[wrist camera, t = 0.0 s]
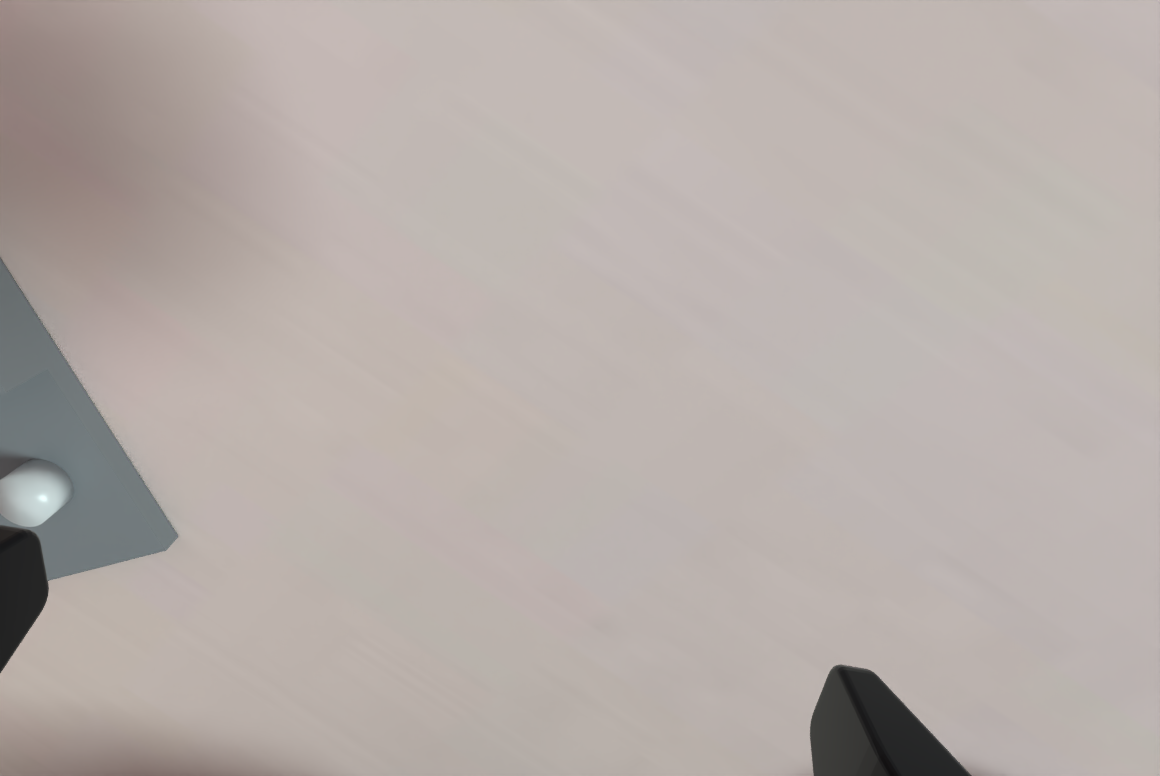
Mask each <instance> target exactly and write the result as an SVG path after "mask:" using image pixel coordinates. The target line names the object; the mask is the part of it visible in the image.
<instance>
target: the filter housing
mask: <svg viewBox="0 0 1160 776" xmlns="http://www.w3.org/2000/svg"><path fill="white" fill-rule="evenodd" d="M0 525H5V526H11V527H17V528H23V529H28V530H31V531H33V532H35V533H36V534H37V536H38V537H39V539H40V542H41V547H42V552H43V558H44V563H45V569H46V574H47V580H48V581H49V580H53V579H57V578H61V577H64V576H68V575H72V574H76V573H80V572H84V571H88V570H92V569H96V568H100V567H103V566H107V565H111V564H115V563H119V562H123V561H127V560H131V559H135V558H139V557H142V556H146V555H150V554H154V553H158V552H162V551H166V550H167V549H168V548H169V547H170V545H171V544H172V543H173V542H174V541H175V540H176V539H177V538H178V535H177V533H176V532H175V530H174V529H173V527H172V525H171V524H170V522H169V521H168V519H167V518H166V516H165V515H164V513H163V511H162V510H161V508H160V507H159V505H158V504H157V502H156V501H155V499H154V497H153V496H152V494H151V493H150V491H149V490H148V488H147V486H146V485H145V483H144V482H143V480H142V479H141V477H140V476H139V474H138V472H137V471H136V469H135V468H134V466H133V465H132V463H131V461H130V460H129V458H128V457H127V455H126V454H125V452H124V451H123V449H122V447H121V446H120V444H119V443H118V441H117V440H116V438H115V436H114V435H113V433H112V432H111V430H110V429H109V427H108V426H107V424H106V422H105V421H104V419H103V418H102V416H101V415H100V413H99V411H98V410H97V408H96V407H95V405H94V404H93V402H92V401H91V399H90V397H89V396H88V394H87V393H86V391H85V390H84V388H83V387H82V385H81V383H80V382H79V380H78V379H77V377H76V376H75V374H74V372H73V371H72V369H71V368H70V366H69V365H68V363H67V362H66V360H65V358H64V357H63V355H62V354H61V352H60V351H59V349H58V347H57V346H56V344H55V343H54V341H53V340H52V338H51V337H50V335H49V333H48V332H47V330H46V329H45V327H44V326H43V324H42V322H41V321H40V319H39V318H38V316H37V315H36V313H35V312H34V310H33V308H32V307H31V305H30V304H29V302H28V301H27V299H26V298H25V296H24V294H23V293H22V291H21V290H20V288H19V287H18V285H17V283H16V282H15V280H14V279H13V277H12V276H11V274H10V273H9V271H8V269H7V268H6V266H5V265H4V263H3V262H2V260H1V258H0Z"/></svg>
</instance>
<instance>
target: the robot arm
mask: <svg viewBox="0 0 1160 776" xmlns="http://www.w3.org/2000/svg"><path fill="white" fill-rule="evenodd" d="M48 590H49V587H48V580H47V574H46V569H45V563H44V558H43V552H42V547H41V542H40V539H39V537H38V536H37V534H36V533H35V532H33V531H31V530H28V529H23V528H17V527H11V526H5V525H0V673H1V671H2V670H3V668H4V667H5V665H6V664H7V662H8V661H9V659H10V658H11V656H12V655H13V653H14V652H15V650H16V649H17V647H18V646H19V644H20V643H21V642H22V640H23V639H24V637H25V636H26V634H27V633H28V631H29V630H30V628H31V627H32V625H33V624H34V622H35V621H36V619H37V618H38V616H39V615H40V613H41V611H42V610H43V608H44V606H45V603H46V601H47V597H48ZM810 741H811V751H812V762H813V773H814V776H971V775H970V774H969V773H968V772H967V771H966V769H965V768H964V767H963V766H962V765H961V764H960V763H959V762H958V761H957V760H956V759H955V758H954V757H953V756H952V755H951V753H950V752H949V751H948V750H947V749H946V748H945V747H944V746H943V745H942V744H941V743H940V742H939V741H938V740H937V739H936V738H935V736H934V735H933V734H932V733H931V732H930V731H929V730H928V729H927V728H926V727H925V726H924V725H923V724H922V723H921V722H920V720H919V719H918V718H917V717H916V716H915V715H914V714H913V713H912V712H911V711H910V710H909V709H908V708H907V707H906V706H905V705H904V703H903V702H902V701H901V700H900V699H899V698H898V697H897V696H896V695H895V694H894V693H893V692H892V691H891V690H890V689H889V687H888V686H887V685H886V684H885V683H884V682H883V681H882V680H881V679H880V678H879V677H878V676H877V675H876V674H875V673H874V672H872V671H871V670H868V669H864V668H858V667H852V666H846V665H836V666H834V667H833V668H832V669H831V671H830V672H829V674H828V677H827V679H826V682H825V684H824V687H823V690H822V692H821V695H820V697H819V700H818V702H817V705H816V707H815V710H814V712H813V715H812V719H811V726H810Z"/></svg>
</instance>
